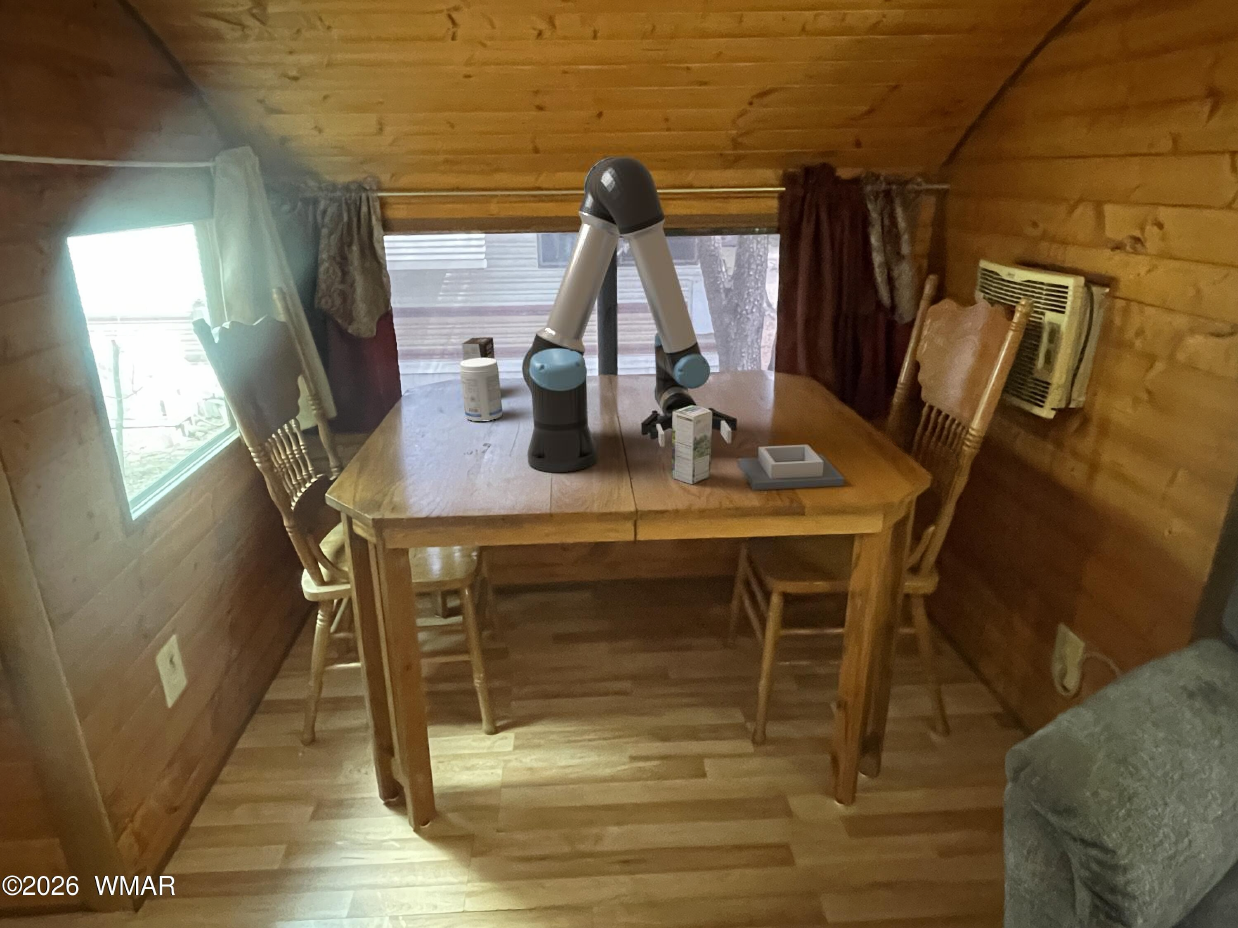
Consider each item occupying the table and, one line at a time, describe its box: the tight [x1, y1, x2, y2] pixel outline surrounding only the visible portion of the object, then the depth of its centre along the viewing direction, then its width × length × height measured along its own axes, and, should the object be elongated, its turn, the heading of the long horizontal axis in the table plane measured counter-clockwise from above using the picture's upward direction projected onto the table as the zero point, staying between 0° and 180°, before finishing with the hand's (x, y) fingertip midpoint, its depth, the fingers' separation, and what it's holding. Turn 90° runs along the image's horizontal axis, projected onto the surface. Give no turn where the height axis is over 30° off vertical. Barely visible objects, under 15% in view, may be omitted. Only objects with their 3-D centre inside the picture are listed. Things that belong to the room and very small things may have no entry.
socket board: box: [737, 444, 845, 491], centre depth 161 cm, size 18×14×4 cm
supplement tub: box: [459, 358, 503, 422], centre depth 201 cm, size 10×10×15 cm
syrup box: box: [671, 405, 713, 485], centre depth 159 cm, size 6×6×14 cm
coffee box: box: [461, 336, 496, 361], centre depth 220 cm, size 9×6×16 cm
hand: (696, 438), depth 159 cm, fingers open, 13 cm apart
